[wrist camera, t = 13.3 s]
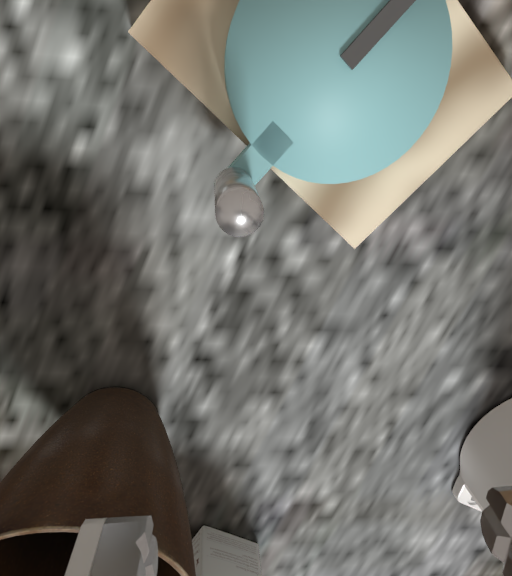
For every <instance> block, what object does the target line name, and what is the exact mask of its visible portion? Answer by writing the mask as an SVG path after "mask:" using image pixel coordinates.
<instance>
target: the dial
mask: <svg viewBox="0 0 512 576" xmlns="http://www.w3.org/2000/svg"><path fill="white" fill-rule="evenodd" d="M451 59H452V28H451V21H450V15H449V11H448V7H447V4H446V0H240V1H239V3H238V5H237V8H236V10H235V13H234V16H233V18H232V21H231V24H230V28H229V32H228V36H227V40H226V48H225V56H224V74H225V83H226V90H227V94H228V99H229V103H230V106H231V108H232V111H233V114H234V117H235V119H236V121H237V123H238V124H239V126H240V128H241V130H242V132H243V133H244V135H245V136H246V138H247V139H248V141H249V142H250V143H249V144H248V145H247V147H246V148H245V149H244V150H243V151H242V152H241V153H240V155H239V156H238V157H237V158H236V159H235V160H234V161H233V162H232V164H231V165H230V166H229V167H228V168H227V169H225V170H223V171H222V172H220V173H219V175H218V176H217V178H216V180H215V183H214V192H215V213H216V220H217V223H218V225H219V226H220V228H221V229H222V230H223V231H224V232H226V233H227V234H229V235H232V236H236V237H243V236H248V235H250V234H252V233H253V232H255V231H256V230H257V229H258V228H259V227H260V225H261V223H262V221H263V218H264V208H263V205H262V202H261V200H260V198H259V195H258V193H257V191H256V188H255V185H256V184H257V182H258V181H259V180H260V179H261V178H262V177H263V176H264V175H265V174H266V173H267V172H268V170H269V169H270V168H271V167H272V166H274V167H276V168H277V169H279V170H281V171H282V172H284V173H286V174H288V175H290V176H292V177H295V178H297V179H301V180H304V181H307V182H313V183H319V184H340V183H348V182H352V181H356V180H360V179H363V178H366V177H368V176H371V175H373V174H375V173H377V172H379V171H381V170H383V169H385V168H386V167H388V166H389V165H391V164H392V163H394V162H395V161H396V160H398V159H399V158H400V157H401V156H402V155H404V154H405V153H406V152H407V151H408V150H409V149H410V148H411V147H412V146H413V145H414V144H415V143H416V141H417V140H418V139H419V138H420V137H421V135H422V134H423V133H424V131H425V130H426V128H427V127H428V126H429V124H430V122H431V120H432V119H433V117H434V115H435V113H436V111H437V109H438V107H439V105H440V102H441V100H442V98H443V95H444V92H445V88H446V85H447V82H448V77H449V72H450V67H451Z"/></svg>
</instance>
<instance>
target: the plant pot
mask: <svg viewBox="0 0 512 576" xmlns="http://www.w3.org/2000/svg"><path fill="white" fill-rule="evenodd" d="M149 515H151V516H152V520H153V524H154V525H153V532H152V535H154V536H155V537H156V539H157V544H158V570H157V576H196V572H195V563H194V554H193V545H192V538H191V531H190V524H189V518H188V512H187V507H186V502H185V497H184V493H183V488H182V483H181V479H180V475H179V472H178V468H177V464H176V460H175V457H174V454H173V450H172V447H171V444H170V441H169V438H168V436H167V433H166V430H165V428H164V425H163V423H162V420H161V418H160V416H159V414H158V412H157V409H156V407H155V406H154V404H153V403H152V402H151V401H150V400H149V399H148V398H147V397H145V396H144V395H142V394H140V393H138V392H136V391H134V390H131V389H127V388H119V387H110V388H103V389H99V390H96V391H94V392H92V393H89V394H88V395H86V396H85V397H84V398H82V399H81V400H80V401H79V402H77V403H76V404H75V405H74V406H73V407H72V408H71V409H69V410H68V411H67V412H66V413H65V414H64V415H63V416H62V417H60V418H59V419H58V420H57V421H56V422H55V423H54V424H53V425H52V426H51V427H50V428H49V429H48V430H47V431H46V432H45V433H44V434H43V435H42V436H41V437H40V438H39V439H38V440H37V441H36V442H35V443H34V445H33V446H32V447H31V448H30V449H29V450H28V451H27V452H26V453H25V454H24V456H23V457H22V458H21V459H20V460H19V461H18V462H17V463H16V465H15V466H14V467H13V468H12V469H11V470H10V472H9V473H8V474H7V475H6V476H5V478H4V479H3V480H2V481H1V483H0V576H65V573H66V570H67V567H68V564H69V560H70V557H71V554H72V551H73V548H74V545H75V542H76V539H77V536H78V533H79V530H80V527H81V525H82V524H83V522H84V521H85V519H95V518H111V517H130V516H149Z"/></svg>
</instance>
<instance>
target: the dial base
mask: <svg viewBox="0 0 512 576" xmlns="http://www.w3.org/2000/svg"><path fill="white" fill-rule="evenodd" d="M239 1H240V0H151V1H150V2H149V4H148V5H147V6H146V8H145V9H144V10H143V12H142V13H141V15H140V16H139V17H138V19H137V20H136V21H135V23H134V24H133V26H132V27H131V28H130V30H129V31H128V32H129V33H130V34H131V35H132V36H133V37H134V38H135V39H136V40H137V41H138V42H139V43H140V44H141V45H142V46H143V47H144V48H145V49H146V50H147V51H148V52H149V53H150V54H152V55H153V56H154V57H155V58H156V59H157V60H158V61H159V62H160V63H161V64H162V65H163V66H164V67H165V68H166V69H167V70H168V71H169V72H170V73H171V74H172V75H173V76H175V77H176V78H177V79H178V80H179V81H180V82H181V83H182V84H183V85H184V86H185V87H186V88H187V89H188V90H189V91H190V92H191V93H192V94H193V95H194V96H195V97H196V98H198V99H199V100H200V101H201V102H202V103H203V104H204V105H205V106H206V107H207V108H208V109H209V110H210V111H211V112H212V113H213V114H214V115H215V116H216V117H217V118H218V119H219V120H221V121H222V122H223V123H224V124H225V125H226V126H227V127H228V128H229V129H230V130H231V131H232V132H233V133H234V134H235V135H236V136H237V137H238V138H239V139H240V140H241V141H242V142H244V143H245V144H246V145H248V144H249V143H250V142H249V141H248V139H247V138H246V136H245V135H244V133H243V132H242V130H241V128H240V126H239V124H238V123H237V121H236V119H235V117H234V114H233V111H232V108H231V106H230V103H229V99H228V94H227V90H226V83H225V74H224V56H225V48H226V40H227V36H228V32H229V28H230V24H231V21H232V18H233V16H234V13H235V10H236V8H237V5H238V3H239ZM446 4H447V7H448V11H449V15H450V21H451V28H452V59H451V67H450V72H449V77H448V82H447V85H446V88H445V92H444V95H443V98H442V100H441V102H440V105H439V107H438V109H437V111H436V113H435V115H434V117H433V119H432V120H431V122H430V124H429V126H428V127H427V128H426V130H425V131H424V133H423V134H422V135H421V137H420V138H419V139H418V140H417V141H416V143H415V144H414V145H413V146H412V147H411V148H410V149H409V150H408V151H407V152H406V153H405V154H404V155H402V156H401V157H400V158H399V159H398V160H396V161H395V162H394V163H392V164H391V165H389V166H388V167H386V168H385V169H383V170H381V171H379V172H377V173H375V174H373V175H371V176H368V177H366V178H363V179H360V180H356V181H352V182H348V183H340V184H319V183H313V182H307V181H304V180H301V179H297V178H295V177H292V176H290V175H288V174H286V173H284V172H282V171H281V170H279V169H277V168H276V167H274V166H272V167H271V169H272V170H273V171H274V172H275V173H276V174H277V175H278V176H279V177H280V178H281V179H282V180H283V181H284V182H285V183H286V184H287V185H288V186H290V187H291V188H292V189H293V190H294V191H295V192H296V193H297V194H298V195H299V196H300V197H301V198H302V199H303V200H304V201H305V202H306V203H307V204H308V205H309V206H310V207H311V208H313V209H314V210H315V211H316V212H317V213H318V214H319V215H320V216H321V217H322V218H323V219H324V220H325V221H326V222H327V223H328V224H329V225H330V226H331V227H332V228H333V229H334V230H336V231H337V232H338V233H339V234H340V235H341V236H342V237H343V238H344V239H345V240H346V241H347V242H348V243H349V244H350V245H351V246H352V247H353V248H354V249H355V248H356V247H357V246H358V245H359V244H360V243H361V242H362V241H363V240H364V239H365V238H366V237H367V236H368V235H370V234H371V233H372V232H373V231H374V230H375V229H376V228H377V227H378V226H379V225H380V224H381V223H382V222H383V221H384V220H385V219H386V218H387V217H388V216H389V215H390V214H391V213H392V212H393V211H394V210H395V209H396V208H398V207H399V206H400V205H401V204H402V203H403V202H404V201H405V200H406V199H407V198H408V197H409V196H410V195H411V194H412V193H413V192H414V191H415V190H416V189H417V188H418V187H419V186H420V185H421V184H422V183H423V182H424V181H426V180H427V179H428V178H429V177H430V176H431V175H432V174H433V173H434V172H435V171H436V170H437V169H438V168H439V167H440V166H441V165H442V164H443V163H444V162H445V161H446V160H447V159H448V158H449V157H450V156H451V155H452V154H454V153H455V152H456V151H457V150H458V149H459V148H460V147H461V146H462V145H463V144H464V143H465V142H466V141H467V140H468V139H469V138H470V137H471V136H472V135H473V134H474V133H475V132H476V131H477V130H478V129H479V128H480V127H482V126H483V125H484V124H485V123H486V122H487V121H488V120H489V119H490V118H491V117H492V116H493V115H494V114H495V113H496V112H497V111H498V110H499V109H500V108H501V107H502V106H503V105H504V104H505V103H506V102H507V101H508V100H510V99H511V98H512V79H511V77H510V76H509V74H508V73H507V71H506V70H505V69H504V67H503V66H502V64H501V63H500V61H499V60H498V58H497V57H496V55H495V54H494V53H493V51H492V50H491V48H490V47H489V45H488V44H487V42H486V41H485V39H484V38H483V37H482V35H481V34H480V32H479V31H478V29H477V28H476V26H475V25H474V23H473V22H472V21H471V19H470V18H469V16H468V15H467V13H466V12H465V10H464V9H463V7H462V6H461V4H460V3H459V2H458V0H446Z"/></svg>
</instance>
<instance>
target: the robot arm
mask: <svg viewBox="0 0 512 576" xmlns="http://www.w3.org/2000/svg"><path fill="white" fill-rule="evenodd" d="M452 492H453V495H454V496H455V497H456V499H457V500H458V501H459V502H460V503H462V504H465V505H467V506H469V507H472V508H474V509H477V510H479V511H481V512H482V516H481V528H482V534H483V536H484V539H485V542H486V544H487V546H488V548H489V549H490V551H491V553H492V554H493V555H494V556H496V557H497V558H498V559H500V560H501V561H502V562H504V563H503V575H504V576H512V398H511V399H509V400H507V401H505V402H504V403H502V404H500V405H499V406H497V407H496V408H494V409H493V410H491V411H490V412H489V413H488V414H486V415H485V416H484V417H483V418H482V419H481V420H480V421H479V422H478V423H477V424H476V425H475V426H474V428H473V429H472V430H471V432H470V433H469V435H468V436H467V438H466V440H465V442H464V444H463V447H462V450H461V454H460V475H459V476H458V478H457V480H456V482H455V484H454V487H453V491H452ZM153 525H154V524H153V520H152V516H151V515H149V516H130V517H111V518H95V519H85V521H84V522H83V524H82V525H81V527H80V530H79V533H78V536H77V539H76V542H75V545H74V548H73V551H72V554H71V557H70V560H69V564H68V567H67V570H66V573H65V576H157V570H158V544H157V539H156V537H155V536H154V535H152V532H153Z"/></svg>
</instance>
